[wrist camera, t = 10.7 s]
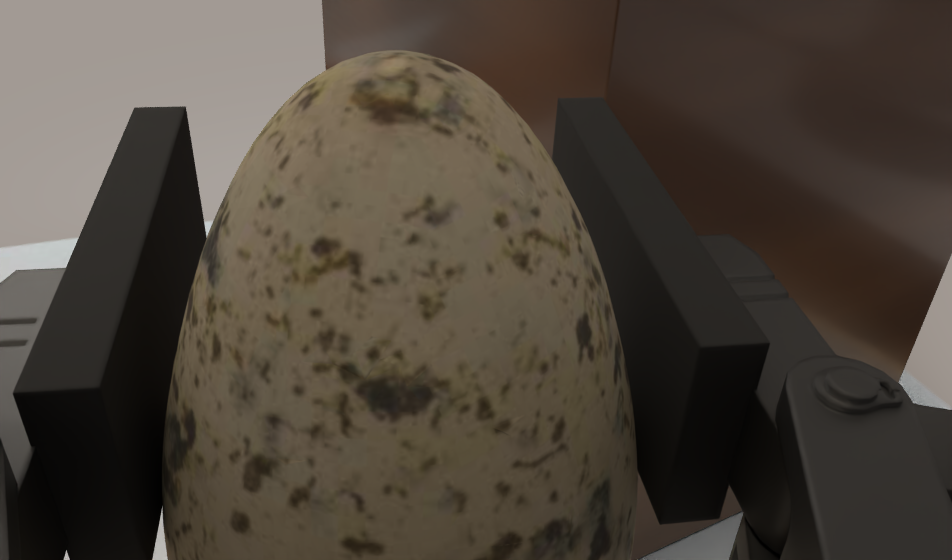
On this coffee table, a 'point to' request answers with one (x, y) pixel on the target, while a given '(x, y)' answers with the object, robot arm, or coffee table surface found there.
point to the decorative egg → (399, 341)
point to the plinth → (740, 135)
